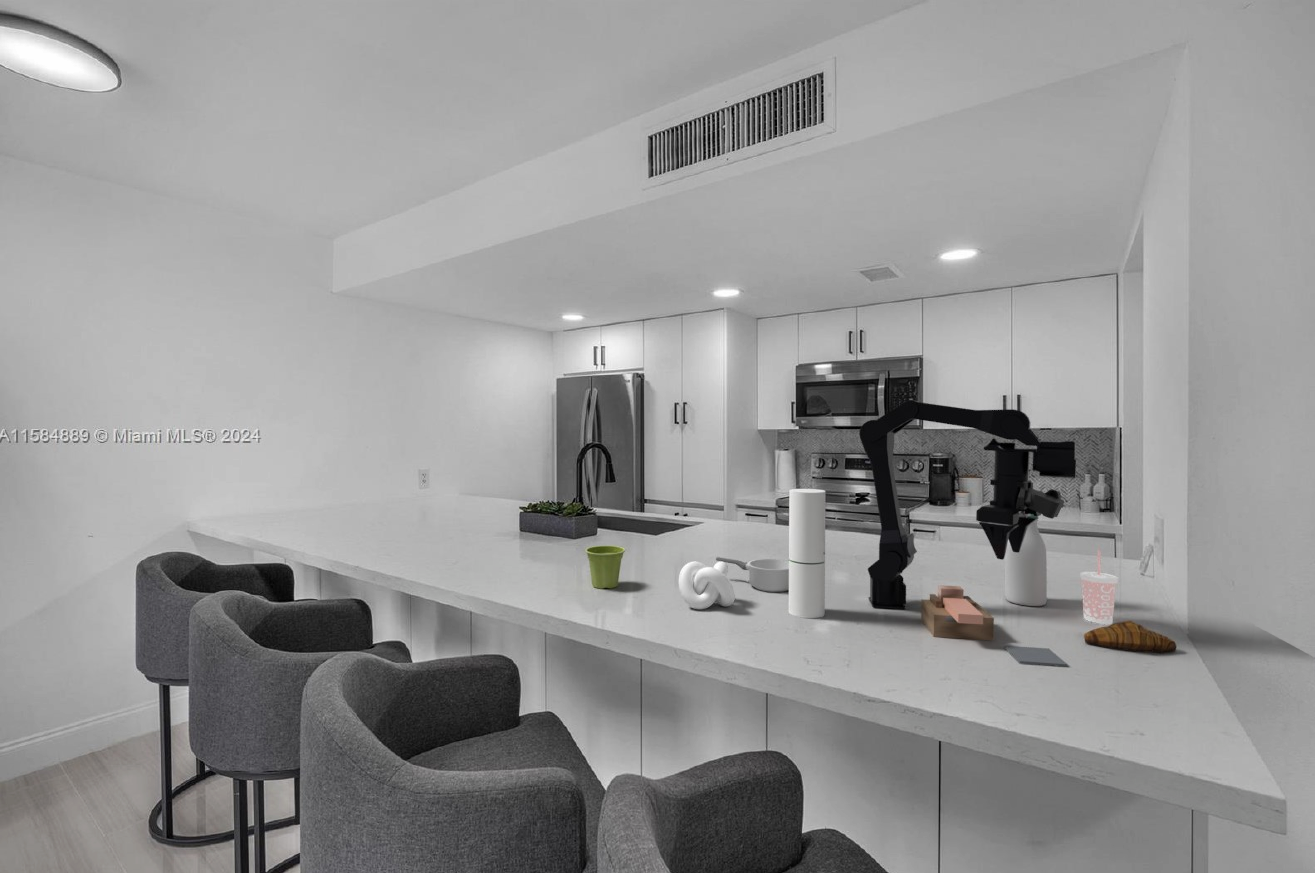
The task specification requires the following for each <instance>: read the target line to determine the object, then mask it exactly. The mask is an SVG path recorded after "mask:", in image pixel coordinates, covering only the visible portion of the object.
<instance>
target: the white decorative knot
mask: <svg viewBox="0 0 1315 873" xmlns="http://www.w3.org/2000/svg"><path fill="white" fill-rule="evenodd" d="M728 572H729V565H728V563H727V562H723V561H718V562H716V563H715V564H714V565H713V567H712V566H707V565H705V564H704V563H702V562H700V561H695V560H694V561H693V560H692V561H690V562H688V563H686V564H685V565H684V566H683V567H682V568H681V570H680V572H679V576H678V589H679V593H680V595H681V598H682V599H683V601H684V603H686V605H687V606H688V607H690V608H691V609H694V610H697V611H701V610H705V609H708V608H709V607H711V606H712V605H714V603H715V602H716V603H717V604H718V605H720V606H722V607H724V608H725V607H730V606H731V605H733V604H734V601H735V599H736V594H735V589H734V588H733V586H732V583H731V581H730V580H729V579H728V577H727V575H728Z"/></svg>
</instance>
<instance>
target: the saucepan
mask: <svg viewBox="0 0 1315 873" xmlns="http://www.w3.org/2000/svg"><path fill="white" fill-rule="evenodd" d="M715 561H716V562H717V561H718V562H720V561H723V562H725V563H726V564H733V565H736V566H738V567H739V568H740V569H742V570H743V571H748V574H749V575H748V576H749V577H748V583H749V585H750V586H752V587H754V588H755V589H756V590H758V591H763V592H769V593H779V592H780V593H782V592H786V591H789V560H785V559H779V558H778V559H777V558H759V559H752V560H750V561H748V562H743V561H742V560H737V559H732V558H726V557H725V558H724V557H719V556H717V557H715Z"/></svg>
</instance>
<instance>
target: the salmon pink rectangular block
mask: <svg viewBox="0 0 1315 873" xmlns="http://www.w3.org/2000/svg"><path fill="white" fill-rule="evenodd" d="M943 607H944V608H945V609H946V610H947V611H948V612H949V613H950V615H951V616H952V617H953V618H954V619H955V620H956V621H957V622H958V623H967V624H983V615H982V614H981V613H980V612H979V611H978V610H977V609H976V608H975V607H974V606H973V605H972V604H971V603H969V602H968V601H967V600H966V599H957V598H943Z"/></svg>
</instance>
